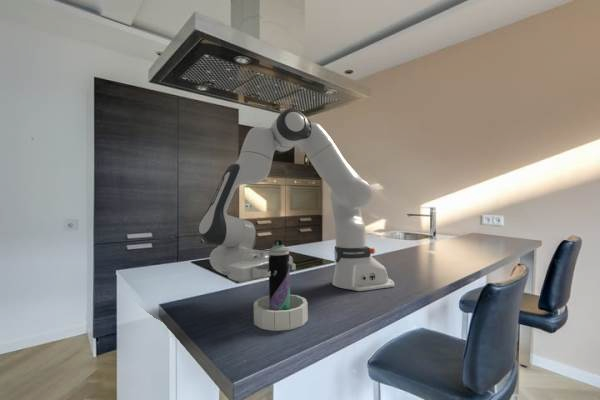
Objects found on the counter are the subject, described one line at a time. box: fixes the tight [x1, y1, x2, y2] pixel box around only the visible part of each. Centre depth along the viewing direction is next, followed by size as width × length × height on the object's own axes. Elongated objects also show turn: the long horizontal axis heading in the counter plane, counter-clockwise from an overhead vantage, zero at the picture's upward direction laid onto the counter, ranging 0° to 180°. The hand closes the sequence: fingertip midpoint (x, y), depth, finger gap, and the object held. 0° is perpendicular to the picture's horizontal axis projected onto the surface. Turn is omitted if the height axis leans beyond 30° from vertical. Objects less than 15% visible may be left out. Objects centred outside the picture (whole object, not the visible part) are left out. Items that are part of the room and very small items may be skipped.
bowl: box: [253, 293, 309, 332], centre depth 79 cm, size 14×14×4 cm
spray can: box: [268, 239, 291, 311], centre depth 79 cm, size 6×6×20 cm
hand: (281, 270), depth 78 cm, fingers open, 8 cm apart
